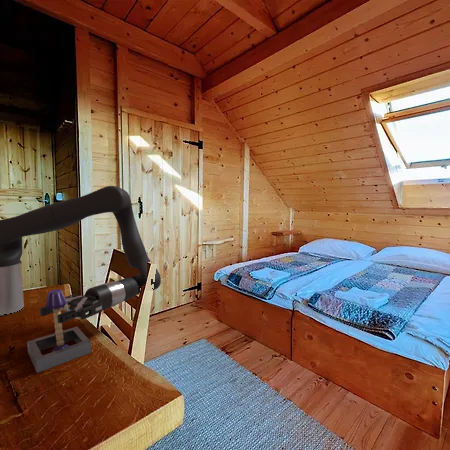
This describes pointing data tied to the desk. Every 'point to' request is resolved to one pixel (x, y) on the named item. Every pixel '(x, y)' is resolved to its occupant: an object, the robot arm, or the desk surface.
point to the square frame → (60, 355)
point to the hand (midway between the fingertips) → (49, 315)
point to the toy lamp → (55, 302)
